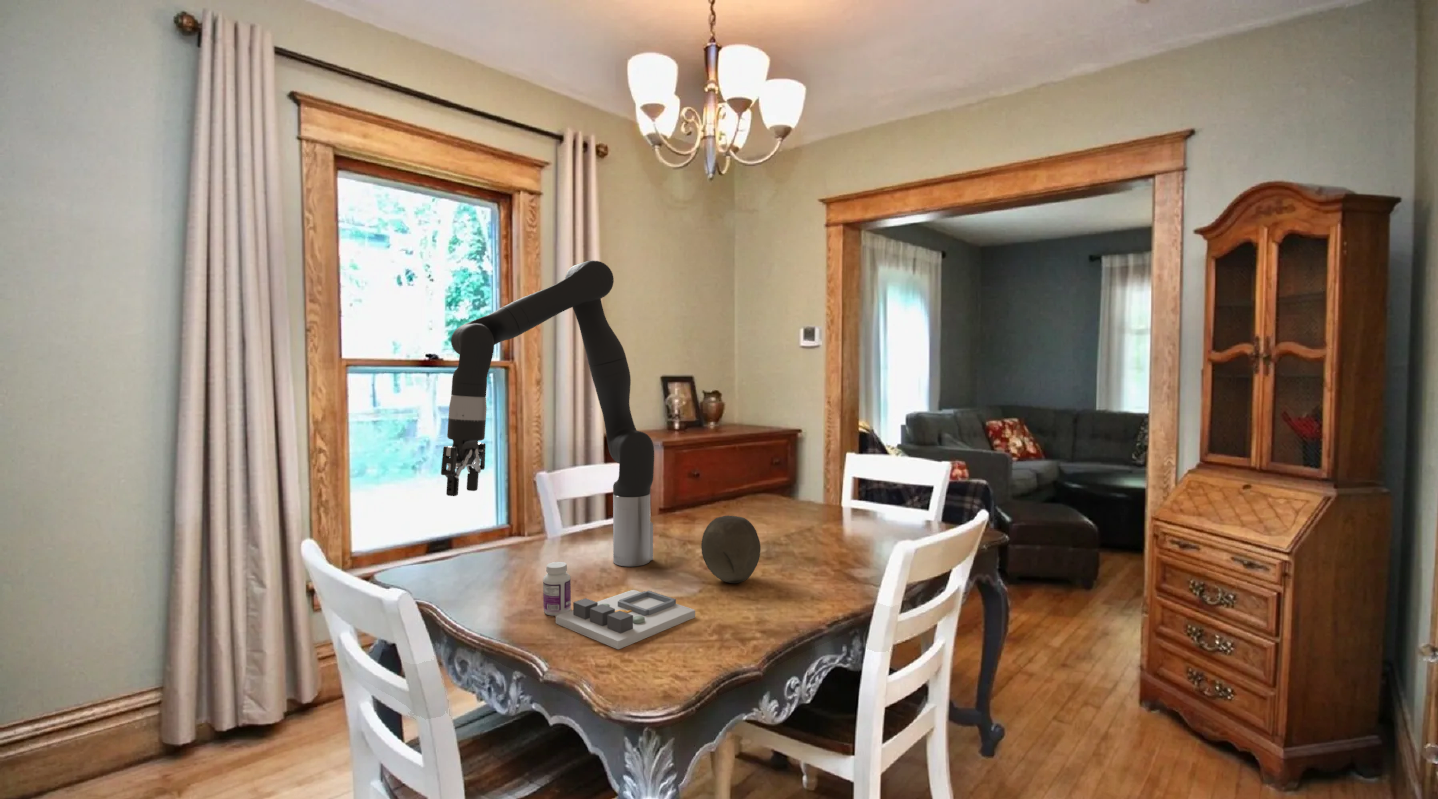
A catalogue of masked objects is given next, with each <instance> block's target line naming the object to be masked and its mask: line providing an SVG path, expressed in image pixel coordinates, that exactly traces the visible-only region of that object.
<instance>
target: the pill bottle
mask: <svg viewBox="0 0 1438 799" xmlns="http://www.w3.org/2000/svg"><path fill="white" fill-rule="evenodd" d="M545 568H546V574H545V575H544V576H543V579H542V591H543V592H542V594H543V595H542V596H543V598H542V599H543V600H542V601H543V613H544V614H545V615H548V616H552V617H553V616H554V617H556V616H557V615H559V614H562V613H565V612H568V611H571V609H572V608H571V607H572V600H571V599H572V598H571V597H572V596H571V595H572V594H571V593H572V592H571V586H572V585H571V583H572V582H571V576H570V574H569V573H568V572H567V570H568V565H567V562H564V561H553V562H549V563H547V564H546V566H545Z"/></svg>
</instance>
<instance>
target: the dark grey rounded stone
mask: <svg viewBox="0 0 1438 799" xmlns="http://www.w3.org/2000/svg"><path fill="white" fill-rule="evenodd" d="M700 548H701V554H702V558H703V562H704V563H705V565H706V567H707V568H708V570H709V571H710V572H711V574H713V575H714V576H715V577H716V578H718V579H719V580H721V581H722V582H725V583H728V584H738V583H742V582H745V581H746V580H748V579H749V578H750V577H751V576H752V574H753V573H754V572H755V571H756V568H757V566H758V564H759V562H760V561H759V560H760V556H761V542H760V538H759V536H758V532H757V530H756V527H755V526H754V525H753V524H752V523H751V522H750V520H748V519H747V518H746V517H743V516H737V515H736V516H735V515H722V516H719V517H715V518H714V519H712V520H711V521H710V522H709V524H708V525H707V526H706V528H705V529H704V532H703V534H702V538H701V546H700Z"/></svg>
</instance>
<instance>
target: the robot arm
mask: <svg viewBox="0 0 1438 799" xmlns="http://www.w3.org/2000/svg"><path fill="white" fill-rule="evenodd" d="M614 278H615V277H614V274H613V271H612V270H611V268H610V267H609V266H608V265H607V264H606V263H604V262H602V261H599V260H586V261H584V262H579V263H578V264H574V265H573V266H571V267H569V269H568V270H567V272H566V274H565V277H564V279H563V280H561V281H559V282H557V283H556V284H553V285H551V286H549V287H546V288H543V289H541V290H538V291H535V292H533V293H531V294H528V295H526V296H523V297H521V298H519V299H516V300H514V301H512V302H510V303H508V304H506V305H504V306H502V307H500V308H498V309H497V310H495V311H493V312H491V313H490V314H487V315H484V316H481V317H479V318H476V319H473V320H471V321H469V322H466V323H464V324H462V325H460V326H459V327H457V328H456V329H455V330H454V331H453V333H452V334H451V338H450V343H451V347H452V349H453V350H454V352H455V353H456V354H458V355H459V358H458V364H457V368H456V369H455V370H454V371H453V373H452V374H453V375H452V379H451V393H450V394H451V396H450V402H449V406H448V408H449V409H448V419H447V420H448V422H447V435H446V437H447V439H448V440H452V445H450V446H449V445H443V448H442V449H443V450H442V458H441V469H440V474H441V475H442V476H445V478H447V480H446V491H445V492H446V496H449V497H457V496H458V495H459V486H460V485H459V483H460V475H461V473H462V471H463V470H465V468H466V469H467V472H468V473H467V476H466V477H467V479H466V490H467V491H468V492H475V491H478V490H479V489H478V488H479V486H478V485H479V474H481V472H482V471H483V470H485V467H486V447H487V446H486V442H485V443H484V442H479V441H483V440H485V438H486V437H485V435H486V423H487V422H486V421H487V409H488V408H487V388H488V387H487V386H488V374H489V371H490V368H491V364H492V360H493V356H494V349H495V345H497V344H499V343H501V342H503V341H509V340H511V339H514V338H516V337H518V336H520V335H522V334H524V333H526V332H528V331H531V330H532V329H533V328H535V327H537V326H539V325H542V323H544V322H546V321H548V320H550V319H551V318H553V317H555V316H557V315H559V314H560V313H562V312H565V311H567V310H570V309H573V312H574V315H575V318H576V321H577V323H578V327H579V330H580V331H579V332H580V335H581V338H582V343H583V347H584V349H585V354H586V358H587V362H588V366H589V370H590V374H591V378H592V382H593V385H594V387H595V392H596V395H597V400H598V403H599V407H600V409H601V413H602V417H603V421H604V429H605V434H606V443H607V448H608V452H609V454H610V457H611V458H612V460H613V461H615V462H616V463H617V464H618V465H619V466H618V467H619V471H618V478H617V480H616V481H615V482H614V483H613V485H612V487H613V488H612V501H613V502H612V508H613V509H612V510H613V511H612V513H613V514H612V516H613V517H612V521H613V522H612V526H613V528H612V530H613V531H612V532H613V533H612V534H613V537H612V539H613V540H612V542H613V543H612V544H613V546H612V547H613V548H612V552H613V553H612V554H613V555H612V556H613V558H612V560H613V561H612V562H613V564H615V565H618V566H620V567H621V566H622V567H641V566H644V565H647V564H648V563H650V562H651V561H652V560H654V523H653V522H652V521H651V487H652V484H653V481H654V475H655V474H654V470H655V448H654V443H653V440H652V439H651V437H650V436H649V434H647V433H645V432H643V431H640V430H637V429H636V425H635V423H634V419H633V415H632V412H631V407H630V406H631V405H630V398H631V397H630V394H631V385H632V384H631V381H632V380H631V372H630V366H629V364H628V360H627V357H626V353H625V349H624V347H623V345H622V343H621V341H620V340H619V338H618V336H617V335H616V334H615V332H614V330H613V329H612V327H611V326H610V324H609V322H608V320H607V317H606V316H605V311H604V307H603V303H602V299H603V298H605V297H606V296H607V295H609V293H610V292H611V290H612V289H613V286H614V282H615V281H614Z"/></svg>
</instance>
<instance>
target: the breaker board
mask: <svg viewBox="0 0 1438 799" xmlns="http://www.w3.org/2000/svg"><path fill="white" fill-rule="evenodd" d="M572 603H573V604H572V606H573V609H572V610H571V609H570V611H568V612H565V613H562V614H559V615H557V616H555V624H556V625H558V626H561V627H563V628H566V629H568V630H570V631H573V632H575V633H578V634H580V635H582V636H585V637H587V638H589V639H592V640H593V641H594V640H595V641H597V642H598V643H601V644H603V645H607V646H609V647H611V648H614V649H616V650H621V649H623V648H625V647H628V646H630V645H633V644H634V643H635V644H636V643H637V642H640V641H642V640H644V639H646V638H647V639H648V638H649V637H652V636H654V635H657V634H659V633H661V632H663V631H666V630H668V629H671V628H673V627H675V626H678V625H680V624H683V623H685V622H687V621H690V620H692V619H695V618H696V610H695V609H694V608H690V607H688V606H684V605H681V604H678V603H677V598H673V597H671V596H667V595H664V594H662V593H661V594H660V593H658V592H656V591H655V592H654V591H652V590H647V591H645V590H644V591H638V590H636V589H631V590H628V591H625V592H622V593H619V594H616V595H614V596H610V597H607V598H604V599H601V600H598V601H595V600H591V599H589V598H588V597H587V598H586V597H585V598H582V599H579V600H576V601H572Z"/></svg>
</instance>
